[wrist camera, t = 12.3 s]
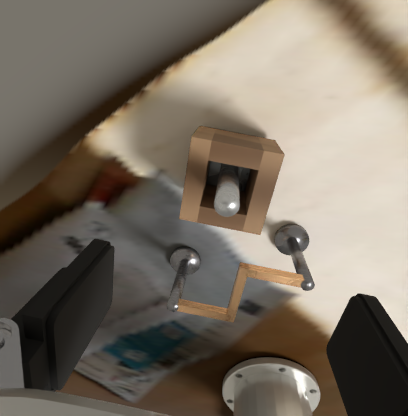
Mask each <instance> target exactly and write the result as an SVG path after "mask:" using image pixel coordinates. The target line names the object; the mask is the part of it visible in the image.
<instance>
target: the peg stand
mask: <svg viewBox="0 0 408 416" xmlns="http://www.w3.org/2000/svg"><path fill="white" fill-rule="evenodd" d="M249 172H250V168H245V167H239V166H234V165H229V164H224V163H219V162H214V161H210V165H209V171H208V176H207V182H206V184H209V185H214V186H217V190H216V196H215V202H214V208H215V210H216V212H217V213H218V214H219V215H221V216H224V217H230V216H233V215H235V214H236V213H237V212H238V210H239V207H240V201H239V190H240V191H245V188H246V184H247V180H248V176H249Z"/></svg>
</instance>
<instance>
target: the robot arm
mask: <svg viewBox="0 0 408 416" xmlns="http://www.w3.org/2000/svg"><path fill="white" fill-rule="evenodd" d="M113 269H114V247H113V246H111V245H110V242H108V241H104V240H99V239H94V240H93V241H92V242H91V243H90V244H89V245H88V246H87V247H86V248H85V249H84V250H83V251H82V252H81V253H80V254H79V255H78V256H77V257H76V258H75V259H74V261H73V262H72V263H71V264H70V265H69V266H68V267H67V268H62V269H61V270H59V271H58V272H57V273H56V274H55V275H54V276H53V277H52V278H51V279H50V280H49V281H48V282H47V283H46V284H45V285H44V286H43V287H42V288H41V289H40V290H39V291H38V292H37V294H36V295H35V296H34V297H33V298H32V299H31V300H30V301H29V302H28V303H27V304H26V305H25V306H24V307H23V308H22V309H21V310H20V311H19V312H18V313H17V314H16V315H15V316H14V317H13V318H12V319H11V320H10V319H7V318H0V416H170V415H165V414H161V413H156V412H152V411H147V410H143V409H138V408H133V407H129V406H124V405H120V404H115V403H110V402H105V401H100V400H95V399H90V398H85V397H80V396H75V395H70V394H65V393H60V392H55V391H56V390H61V389H62V388H63V386H64V385H65V383H66V381H67V380H68V378H69V376H70V375H71V373H72V371H73V370H74V368H75V366H76V364H77V363H78V361H79V359H80V358H81V356H82V354H83V352H84V351H85V349H86V347H87V346H88V344H89V342H90V340H91V339H92V337H93V335H94V334H95V332H96V330H97V328H98V327H99V325H100V323H101V322H102V320H103V318H104V316H105V315H106V313H107V311H108V310H109V308H110V305H111V302H112V292H113ZM327 356H328V359H329V362H330V365H331V368H332V371H333V374H334V377H335V379H336V382H337V385H338V388H339V391H340V394H341V397H342V400H343V403H344V406H345V409H346V412H347V414H348V416H408V343H407V342H406V340H405V339H404V337H403V336H402V334H401V333H400V331H399V330H398V329H397V327H396V326H395V324H394V323H393V321H392V320H391V318H390V317H389V315H388V314H387V312H386V311H385V309H384V308H383V306H382V305H381V303H380V302H379V301H378V299H377V298H376V297H374V296H369V295H365V294H357V295H356V296H352V297H351V298H350V300H349V302H348V304H347V306H346V308H345V310H344V312H343V314H342V316H341V318H340V320H339V322H338V324H337V326H336V328H335V330H334V332H333V334H332V336H331V338H330V340H329V342H328V345H327ZM222 395H223V398H224V401H225V403H226V404H227V406H228V407H229V408H230V409H231V410H232V411H233V412H234V416H313V415H312V412H313V411H314V410H315V408H316V407H317V406H318V403H319V401H320V391H319V387H318V384H317V381H316V379H315V377H314V376H313V375H312V373H310V372H309V371H308V370H307V369H306V368H304V367H303V366H301V365H299V364H297V363H295V362H292V361H289V360H285V359H281V358H273V357H261V358H254V359H250V360H246V361H243V362H241V363H239V364H237V365H236V366H234V367H233V368H232V369H230V370H229V371H228V373H227V374H226V375H225V377H224V379H223V385H222Z"/></svg>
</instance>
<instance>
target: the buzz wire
mask: <svg viewBox="0 0 408 416" xmlns="http://www.w3.org/2000/svg"><path fill="white" fill-rule="evenodd" d="M275 244H276V247H277V249H278V250H279V251H280V252H281V253H283V254H286V255H291V257H292V260H293V263H294V266H295V269H296V272H297V274H296V273H291V272H286V271H281V270H276V269H271V268H266V267H261V266H256V265H251V264H246V263H241V262H240V264H239V268H238V271H237V275H236V279H235V282H234V286H233V290H232V293H231V297H230V301H229V304H228V308H222V307H217V306H212V305H207V304H202V303H197V302H192V301H187V300H182V299H181V296H182V292H183V288H184V284H185V280H186V276H187V275H189V274H193V273H195V272H196V271H197V270H198V269H199V266H200V256H199V254H198V253H197V251H195V250H194V249H192V248H190V247H179V248H177V249H176V250H174V251H173V253H172V255H171V258H170V264H171V266H172V268H173V269H174V270H175V271H176V272H177V274H176V277H175V281H174V284H173V287H172V291H171V294H170V297H169V301H168V304H167V309H168V310H169V311H172V312H175V311H180V312H185V313H190V314H195V315H200V316H205V317H210V318H214V319H219V320H224V321H229V322H234V319H235V316H236V312H237V309H238V305H239V302H240V299H241V295H242V292H243V289H244V285H245V282H246V278H247V277H251V278H256V279H261V280H266V281H271V282H276V283H281V284H286V285H291V286H296V287H301V288H302V289H303V290H306V291H309V290H312V289H313V288H314V286H315V284H314V282H313V279H312V276H311V274H310V271H309V269H308V266H307V264H306V261H305V259H304V256H303V254H302V252H303V251H304V250H305V249H306V248H307V246H308V244H309V236H308V234H307V232H306V230H305V229H304V228H303V227H301V226H299V225H296V224H289V225H285V226H283V227H281V228H280V229H279V230H278V231H277V232H276V234H275Z"/></svg>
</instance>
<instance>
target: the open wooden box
mask: <svg viewBox="0 0 408 416" xmlns="http://www.w3.org/2000/svg"><path fill="white" fill-rule="evenodd" d="M283 158H284V153H283V152H282V150H281V149H280V147H279V146H278V144H277V143H276V141H275V140H271V139H266V138H261V137H256V136H250V135H245V134H240V133H235V132H230V131H224V130H219V129H214V128H209V127H204V126H199V128H198V129H197V130H196V131H195V133H194V134H193V135H192V137H191V143H190V150H189V157H188V163H187V170H186V177H185V184H184V190H183V197H182V204H181V211H180V218H179V219H183V220H188V221H193V222H198V223H203V224H208V225H213V226H218V227H223V228H228V229H233V230H238V231H243V232H248V233H253V234H258V235H260V234H261V231H262V228H263V224H264V221H265V218H266V215H267V211H268V208H269V205H270V201H271V198H272V195H273V191H274V188H275V185H276V181H277V178H278V175H279V171H280V168H281V165H282V161H283ZM210 161H214V162H219V163H224V164H229V165H234V166H239V167H245V168H250V172H249V176H248V180H247V184H246V188H245V191H240V190H239V201H240V207H239V210H238V212H237V213H236V214H235V215H233V216H230V217H224V216H221V215H219V214H218V213H217V212H216V210H215V208H214V202H215V196H216V190H217V186H214V185H209V184H206V182H207V176H208V171H209V165H210Z"/></svg>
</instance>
